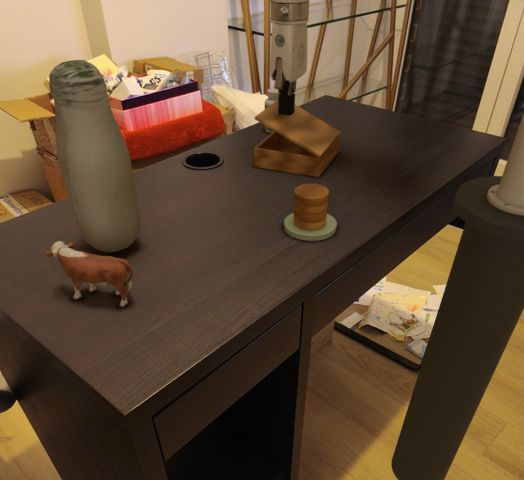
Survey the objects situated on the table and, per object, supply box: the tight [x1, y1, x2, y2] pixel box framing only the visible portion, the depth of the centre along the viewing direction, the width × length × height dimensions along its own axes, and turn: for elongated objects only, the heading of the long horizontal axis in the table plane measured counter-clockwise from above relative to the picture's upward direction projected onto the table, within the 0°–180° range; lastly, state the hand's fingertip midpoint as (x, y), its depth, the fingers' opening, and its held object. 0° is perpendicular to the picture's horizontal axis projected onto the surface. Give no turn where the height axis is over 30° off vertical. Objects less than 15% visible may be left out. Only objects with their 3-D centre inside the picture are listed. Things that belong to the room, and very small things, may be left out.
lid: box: [254, 99, 342, 158], centre depth 105 cm, size 16×15×1 cm
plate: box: [283, 212, 338, 242], centre depth 87 cm, size 10×10×1 cm
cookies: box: [292, 183, 330, 230], centre depth 84 cm, size 6×6×6 cm
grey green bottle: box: [48, 59, 142, 253], centre depth 73 cm, size 10×10×28 cm
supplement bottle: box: [264, 87, 279, 134], centre depth 121 cm, size 5×5×10 cm
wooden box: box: [253, 131, 341, 178], centre depth 109 cm, size 15×15×4 cm
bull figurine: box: [45, 240, 134, 308], centre depth 70 cm, size 4×13×8 cm, turn 71°
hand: (286, 113), depth 105 cm, fingers closed
